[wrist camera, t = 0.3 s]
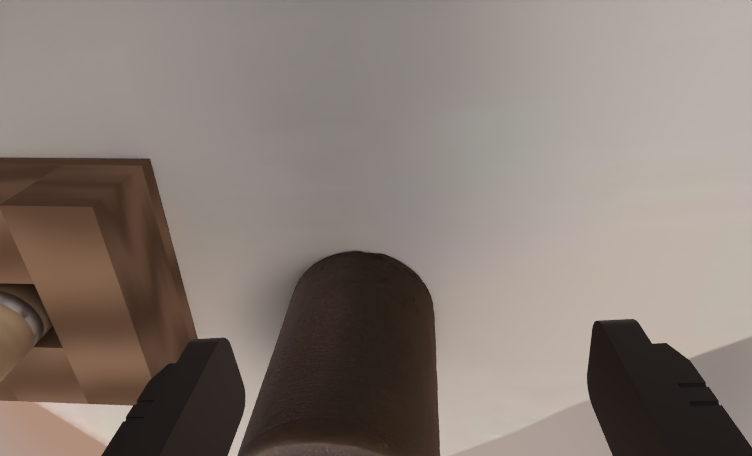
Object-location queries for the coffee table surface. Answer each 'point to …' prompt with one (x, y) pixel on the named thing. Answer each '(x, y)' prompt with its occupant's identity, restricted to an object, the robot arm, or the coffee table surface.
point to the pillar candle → (351, 366)
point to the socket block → (91, 278)
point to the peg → (20, 323)
